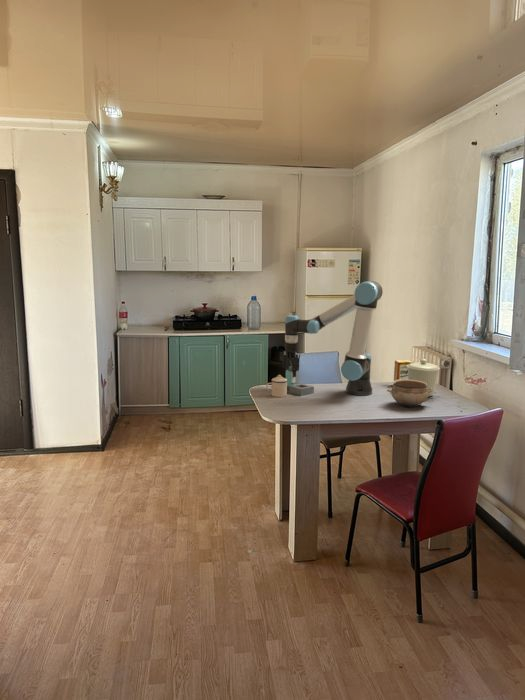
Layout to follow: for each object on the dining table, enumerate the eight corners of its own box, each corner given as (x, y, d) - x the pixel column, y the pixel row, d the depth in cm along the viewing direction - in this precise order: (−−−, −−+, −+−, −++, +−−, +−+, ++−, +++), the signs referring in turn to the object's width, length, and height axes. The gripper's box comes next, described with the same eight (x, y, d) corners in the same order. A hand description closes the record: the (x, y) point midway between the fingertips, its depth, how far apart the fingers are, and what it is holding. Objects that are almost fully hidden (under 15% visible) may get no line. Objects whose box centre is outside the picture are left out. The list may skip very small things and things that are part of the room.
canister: (443, 395, 297) (446, 359, 293) (426, 400, 285) (429, 363, 281) (416, 389, 310) (418, 354, 306) (398, 394, 298) (400, 358, 295)
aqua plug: (295, 389, 304) (295, 366, 302) (290, 390, 301) (290, 367, 299) (290, 388, 307) (290, 365, 305) (285, 389, 304) (285, 366, 302)
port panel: (313, 393, 296) (313, 386, 296) (301, 396, 290) (301, 389, 290) (301, 389, 304) (301, 383, 303) (288, 392, 298) (289, 385, 297)
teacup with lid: (285, 393, 296) (285, 373, 294) (288, 397, 287) (289, 376, 285) (264, 393, 294) (265, 373, 292) (267, 397, 285) (267, 377, 283)
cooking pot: (393, 411, 264) (394, 387, 262) (379, 401, 282) (381, 379, 280) (439, 409, 267) (441, 386, 265) (422, 400, 286) (424, 378, 284)
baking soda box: (396, 387, 314) (398, 361, 311) (393, 385, 320) (394, 359, 318) (412, 387, 315) (413, 361, 312) (408, 385, 321) (410, 359, 318)
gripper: (276, 340, 304) (276, 379, 308) (296, 344, 291) (295, 385, 295) (286, 339, 308) (285, 378, 312) (306, 343, 295) (305, 383, 299)
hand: (290, 381), depth 303 cm, fingers closed on aqua plug, 4 cm apart
